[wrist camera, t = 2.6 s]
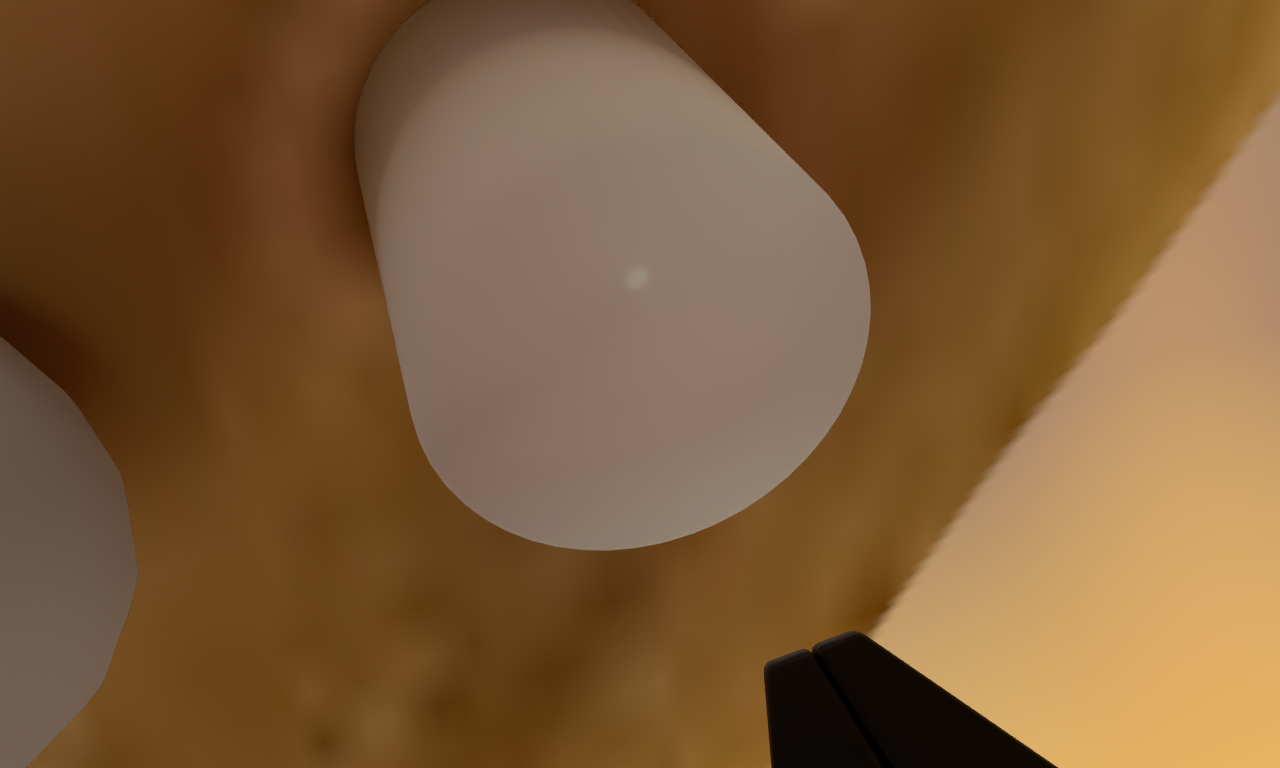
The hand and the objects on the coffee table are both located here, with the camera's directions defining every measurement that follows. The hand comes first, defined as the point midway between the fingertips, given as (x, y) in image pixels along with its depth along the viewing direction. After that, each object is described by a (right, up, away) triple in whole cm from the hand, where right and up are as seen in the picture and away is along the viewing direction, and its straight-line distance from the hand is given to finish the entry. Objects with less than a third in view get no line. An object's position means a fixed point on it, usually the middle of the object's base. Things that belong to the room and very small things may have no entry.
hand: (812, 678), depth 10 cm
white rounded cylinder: (-3, +6, +10) cm, 12 cm away
